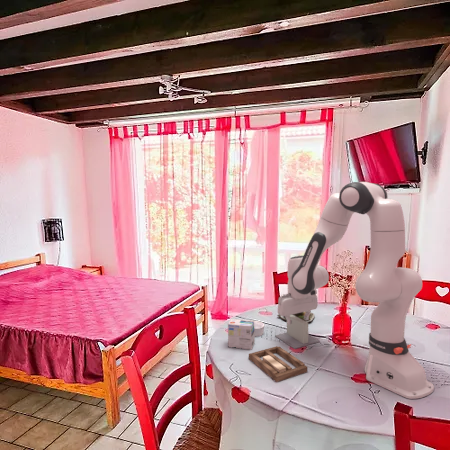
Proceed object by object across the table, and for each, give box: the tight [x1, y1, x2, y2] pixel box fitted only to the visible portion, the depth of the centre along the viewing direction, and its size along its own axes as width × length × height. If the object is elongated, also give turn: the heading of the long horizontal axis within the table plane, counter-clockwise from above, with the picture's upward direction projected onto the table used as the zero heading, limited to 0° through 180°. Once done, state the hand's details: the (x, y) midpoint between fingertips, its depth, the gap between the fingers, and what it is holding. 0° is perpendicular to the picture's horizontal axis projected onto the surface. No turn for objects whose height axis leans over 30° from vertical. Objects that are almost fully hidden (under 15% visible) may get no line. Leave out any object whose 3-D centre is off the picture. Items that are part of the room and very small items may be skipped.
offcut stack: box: [262, 355, 286, 373], centre depth 128 cm, size 11×3×3 cm, turn 27°
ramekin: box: [254, 320, 265, 337], centre depth 160 cm, size 9×9×4 cm
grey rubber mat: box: [275, 332, 320, 350], centre depth 153 cm, size 14×14×1 cm
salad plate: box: [276, 312, 315, 325], centre depth 180 cm, size 19×18×5 cm
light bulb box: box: [227, 318, 256, 351], centre depth 147 cm, size 11×7×11 cm, turn 74°
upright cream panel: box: [286, 315, 309, 344], centre depth 153 cm, size 12×2×9 cm, turn 27°
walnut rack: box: [248, 345, 308, 383], centre depth 131 cm, size 19×14×2 cm
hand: (297, 321), depth 152 cm, fingers open, 8 cm apart
